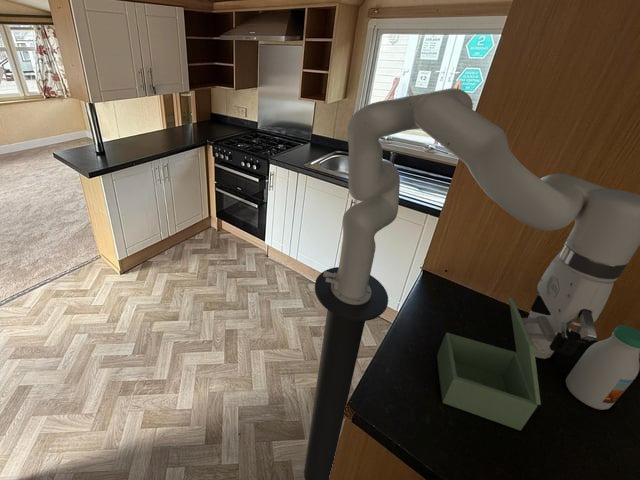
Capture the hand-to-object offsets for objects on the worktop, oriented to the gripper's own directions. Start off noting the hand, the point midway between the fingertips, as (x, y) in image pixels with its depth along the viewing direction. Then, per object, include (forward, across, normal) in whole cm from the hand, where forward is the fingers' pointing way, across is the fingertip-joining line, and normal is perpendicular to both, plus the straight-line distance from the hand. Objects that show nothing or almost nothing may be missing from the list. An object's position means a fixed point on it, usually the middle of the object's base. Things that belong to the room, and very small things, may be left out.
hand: (549, 330), depth 61 cm
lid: (+7, 0, -2) cm, 7 cm away
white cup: (+23, -19, +10) cm, 32 cm away
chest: (+23, 0, -7) cm, 24 cm away
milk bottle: (+23, -9, +17) cm, 30 cm away
